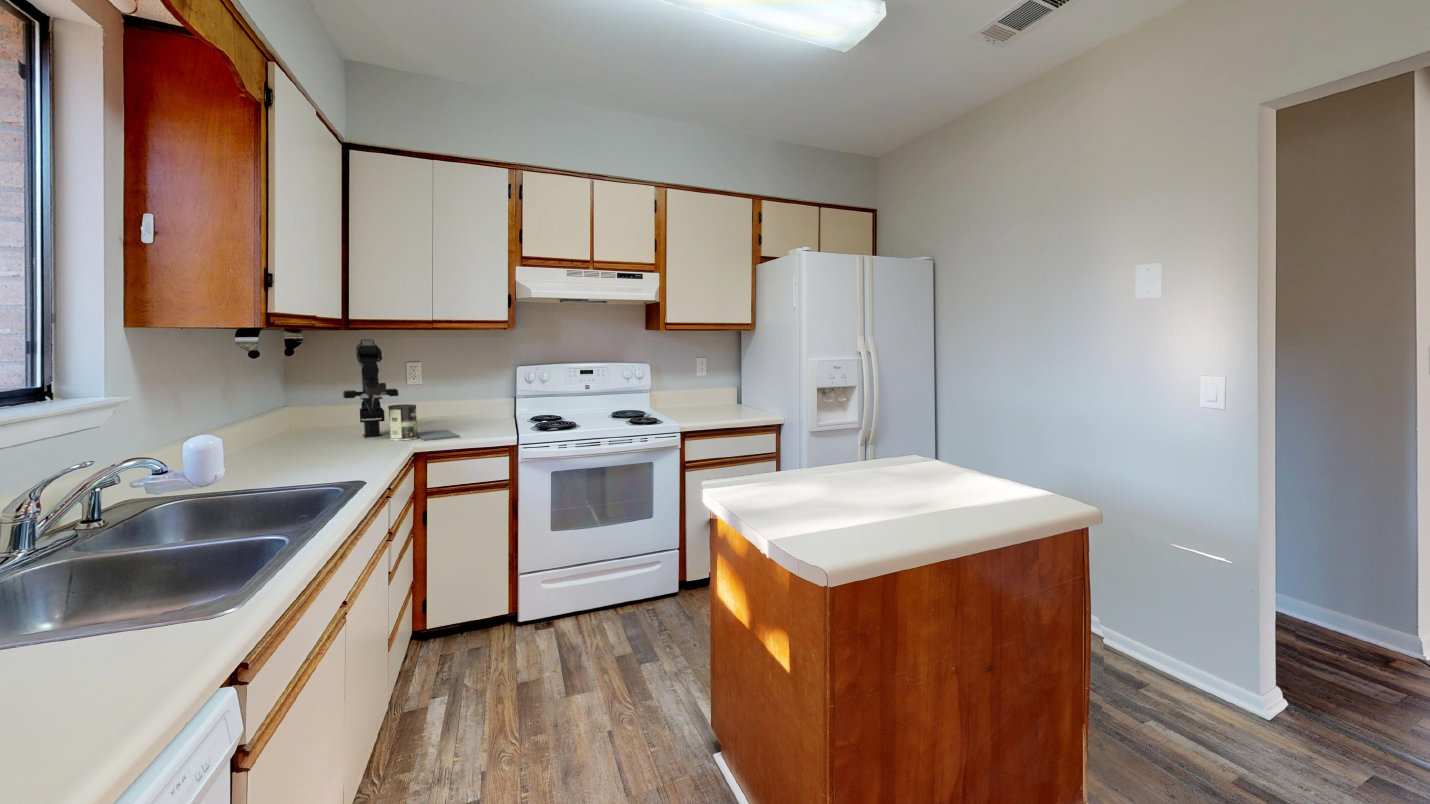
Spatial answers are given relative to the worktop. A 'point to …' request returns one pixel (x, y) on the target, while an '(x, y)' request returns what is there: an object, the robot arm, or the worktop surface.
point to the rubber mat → (436, 435)
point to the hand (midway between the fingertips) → (372, 414)
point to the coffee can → (402, 422)
